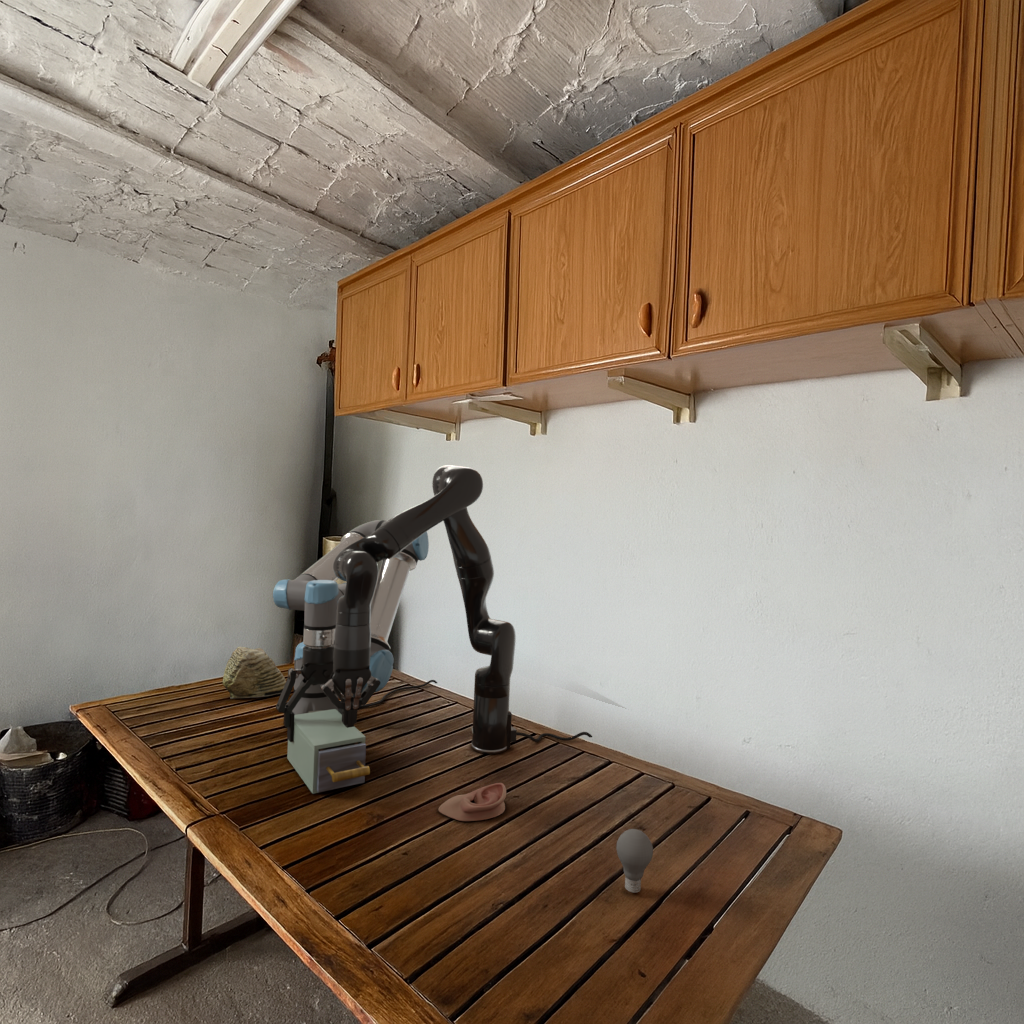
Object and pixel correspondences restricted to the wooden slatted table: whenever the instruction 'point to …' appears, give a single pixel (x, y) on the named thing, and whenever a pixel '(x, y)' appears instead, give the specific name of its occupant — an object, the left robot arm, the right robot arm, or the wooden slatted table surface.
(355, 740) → the cabinet
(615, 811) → the wooden slatted table surface
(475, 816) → the anatomical model
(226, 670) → the fossil
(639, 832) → the light bulb
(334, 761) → the drawer
